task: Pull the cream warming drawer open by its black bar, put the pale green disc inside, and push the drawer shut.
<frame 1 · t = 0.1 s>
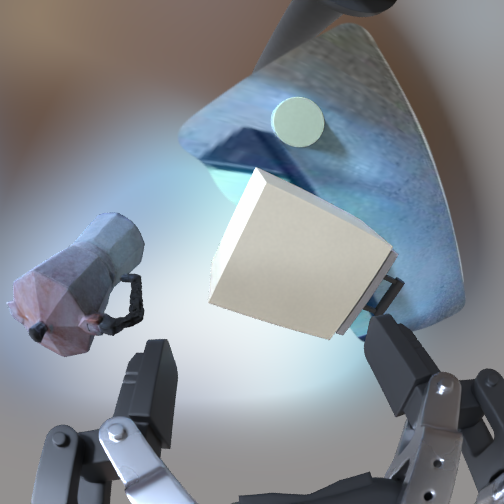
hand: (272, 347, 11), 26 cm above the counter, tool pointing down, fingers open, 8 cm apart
cabinet: (287, 240, 38), on the counter
moka pot: (117, 240, 36), on the counter
drawer: (333, 271, 35), point 5 cm above the counter, slide at 1.0 cm
pale green disc: (295, 122, 32), on the counter
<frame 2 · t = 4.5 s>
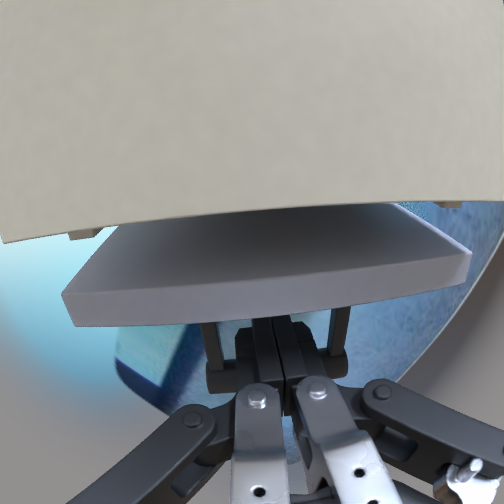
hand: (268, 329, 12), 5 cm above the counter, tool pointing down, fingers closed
cabinet: (243, 9, 10), on the counter
drawer: (264, 133, 9), point 5 cm above the counter, slide at 2.0 cm, touching gripper
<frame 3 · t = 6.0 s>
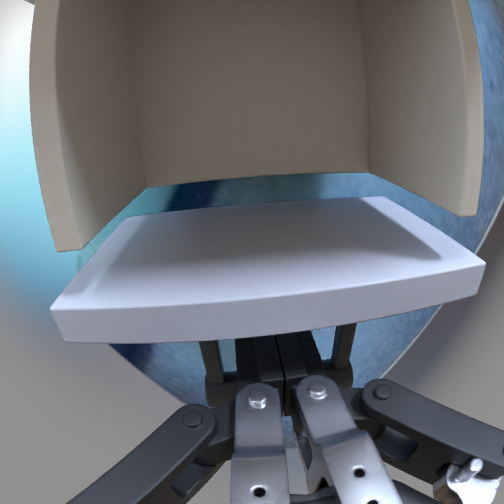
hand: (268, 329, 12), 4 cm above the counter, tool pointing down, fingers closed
drawer: (266, 134, 8), point 5 cm above the counter, slide at 9.1 cm, touching gripper
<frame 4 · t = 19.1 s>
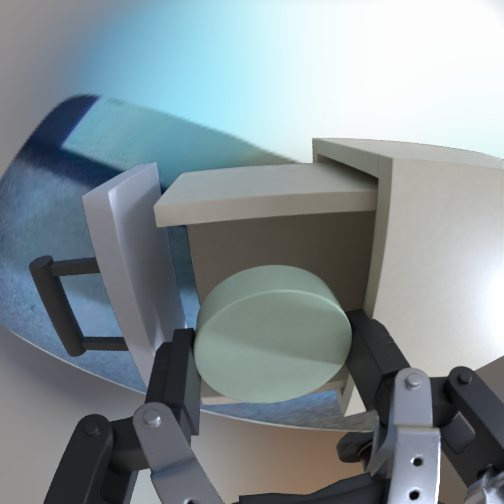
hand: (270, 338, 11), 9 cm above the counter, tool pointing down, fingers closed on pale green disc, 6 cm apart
cabinet: (408, 233, 20), on the counter
drawer: (222, 286, 15), point 5 cm above the counter, slide at 9.2 cm
pale green disc: (269, 328, 12), point 8 cm above the counter, touching gripper
when the fingers open (10 cm above the counter, at t = 30.5 s): pale green disc drops 8 cm, resting on drawer.
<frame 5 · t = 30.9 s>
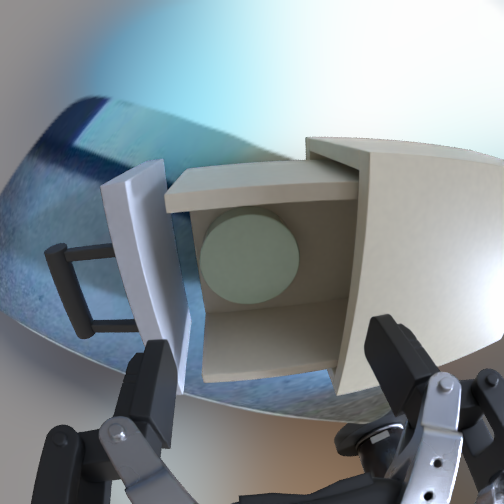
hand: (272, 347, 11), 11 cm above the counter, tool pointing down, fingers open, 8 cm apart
cabinet: (397, 226, 21), on the counter
drawer: (223, 271, 16), point 5 cm above the counter, slide at 9.2 cm, touching pale green disc
pale green disc: (248, 250, 19), point 2 cm above the counter, touching drawer
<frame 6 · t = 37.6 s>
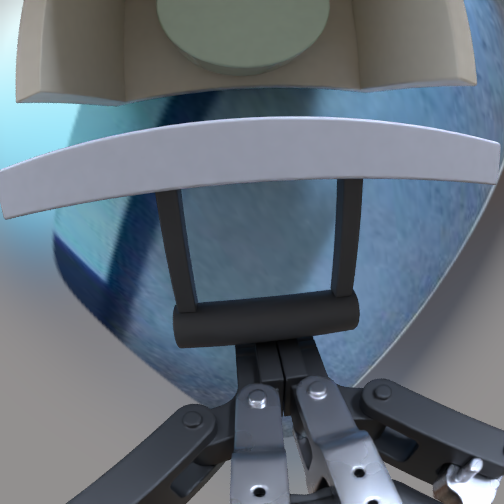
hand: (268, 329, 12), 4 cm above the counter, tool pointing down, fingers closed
drawer: (248, 23, 7), point 5 cm above the counter, slide at 8.5 cm, touching gripper, pale green disc
pale green disc: (241, 11, 8), point 2 cm above the counter, touching drawer
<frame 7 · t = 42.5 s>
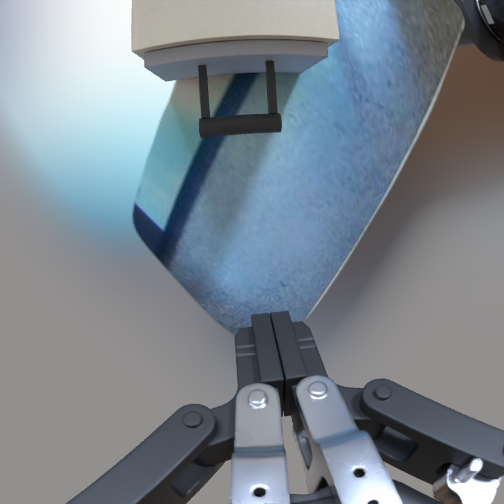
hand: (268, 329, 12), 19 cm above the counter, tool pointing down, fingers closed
drawer: (232, 19, 17), point 5 cm above the counter, slide at 0.0 cm, touching pale green disc
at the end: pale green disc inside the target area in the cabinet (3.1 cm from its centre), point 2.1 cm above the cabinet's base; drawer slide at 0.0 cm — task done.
